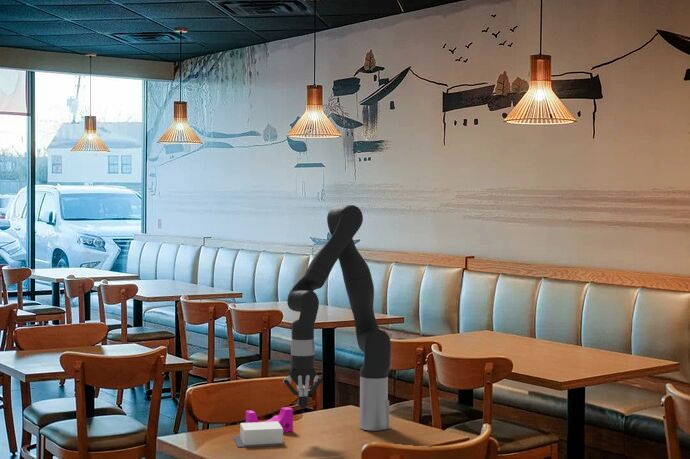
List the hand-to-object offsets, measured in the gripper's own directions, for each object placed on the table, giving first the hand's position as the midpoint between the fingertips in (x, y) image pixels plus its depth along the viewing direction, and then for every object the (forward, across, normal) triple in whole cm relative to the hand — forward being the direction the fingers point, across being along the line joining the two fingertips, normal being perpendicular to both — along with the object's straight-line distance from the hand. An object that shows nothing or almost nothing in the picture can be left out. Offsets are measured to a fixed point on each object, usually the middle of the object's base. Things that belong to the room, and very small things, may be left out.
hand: (302, 407), depth 286 cm
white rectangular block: (+7, +7, 0) cm, 10 cm away
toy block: (+10, +9, -12) cm, 18 cm away
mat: (+10, +14, 0) cm, 17 cm away
